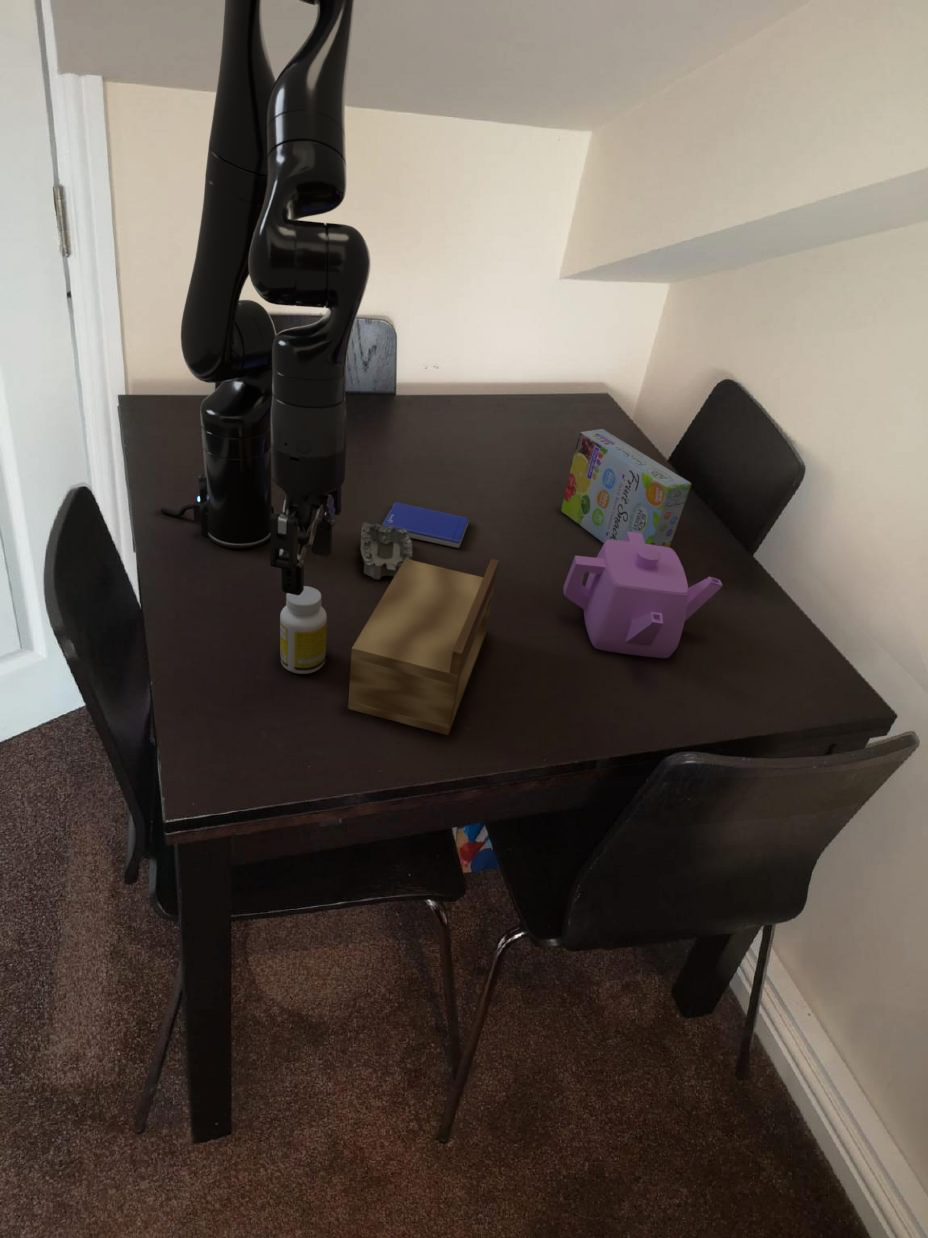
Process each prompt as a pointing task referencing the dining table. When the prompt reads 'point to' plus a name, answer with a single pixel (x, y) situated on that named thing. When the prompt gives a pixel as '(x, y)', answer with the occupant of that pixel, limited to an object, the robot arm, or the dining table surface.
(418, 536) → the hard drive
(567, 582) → the teakettle
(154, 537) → the dining table surface
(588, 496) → the snack box
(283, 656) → the supplement bottle
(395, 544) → the egg carton
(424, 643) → the lipped wooden block
